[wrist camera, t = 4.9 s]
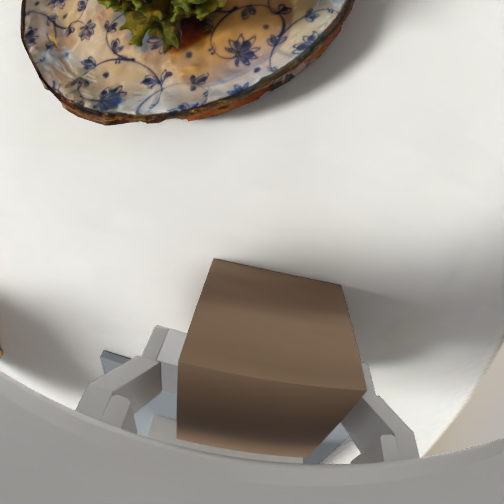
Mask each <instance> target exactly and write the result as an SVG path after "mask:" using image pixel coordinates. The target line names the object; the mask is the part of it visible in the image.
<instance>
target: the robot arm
mask: <svg viewBox="0 0 504 504" xmlns="http://www.w3.org/2000/svg"><path fill="white" fill-rule="evenodd" d="M186 336H187V333H185V332H181V331H177V330H174V329H169V328H166V327H162V326H159V325H157V326H156V327H155V328H154V330H153V332H152V334H151V336H150V338H149V341H148V343H147V345H146V347H145V349H144V352H143V354H142V356H136V357H134V358H133V359H131V360H129V361H127V362H126V363H124V364H122V365H120V366H119V367H117V368H115V369H113V370H112V371H110V372H108V373H106V374H105V375H103V376H101V377H99V378H98V379H96V380H94V381H92V382H90V383H89V385H88V386H87V388H86V390H85V392H84V394H83V396H82V398H81V400H80V402H79V404H78V406H77V408H76V410H73V409H70V408H68V407H66V406H64V405H62V404H60V403H58V402H55V401H53V400H51V399H49V398H47V397H45V396H43V395H42V394H40V393H38V392H36V391H34V390H32V389H30V388H28V387H27V386H25V385H23V384H21V383H20V382H18V381H16V380H14V379H13V378H11V377H9V376H8V375H6V374H5V373H3V372H1V371H0V504H504V439H499V440H496V441H492V442H489V443H486V444H482V445H478V446H475V447H471V448H467V449H462V450H458V451H454V452H450V453H444V454H439V455H434V456H428V457H422V458H419V453H418V449H417V445H416V440H415V436H414V432H413V431H412V430H411V429H410V428H409V427H408V426H407V425H406V424H405V423H404V422H403V421H402V420H401V419H400V417H399V416H398V415H397V414H396V413H395V412H394V411H393V410H392V409H391V408H390V407H389V406H388V405H387V404H386V403H385V401H384V400H383V399H382V398H381V397H380V396H377V395H376V394H375V389H374V385H373V381H372V377H371V373H370V369H369V366H368V364H367V363H361V365H362V369H363V373H364V378H365V382H366V387H367V391H366V393H365V394H364V395H363V396H362V397H361V399H360V400H359V401H358V402H357V404H356V405H355V406H354V407H353V408H352V409H351V411H350V412H349V413H348V414H347V415H346V416H345V418H344V419H343V420H342V421H341V424H342V425H343V427H344V428H345V430H346V431H347V433H348V434H349V436H350V437H351V439H352V440H353V442H354V443H355V445H356V446H357V448H358V449H359V451H360V452H361V454H360V455H358V456H357V457H356V458H355V459H353V460H352V461H351V464H300V463H284V462H272V461H262V460H254V459H246V458H239V457H232V456H226V455H220V454H215V453H210V452H205V451H200V450H195V449H191V448H186V447H182V446H178V445H174V444H170V443H166V442H163V441H159V440H155V439H152V438H148V437H145V436H142V435H139V434H137V433H138V431H137V427H136V423H135V419H134V414H135V413H136V412H138V411H139V410H140V409H141V408H143V407H144V406H145V405H146V404H148V403H149V402H150V401H151V400H153V399H154V398H155V397H156V396H157V395H159V394H160V393H161V391H163V392H167V393H172V394H176V395H177V375H178V360H179V357H180V354H181V351H182V348H183V345H184V342H185V339H186Z"/></svg>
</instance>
